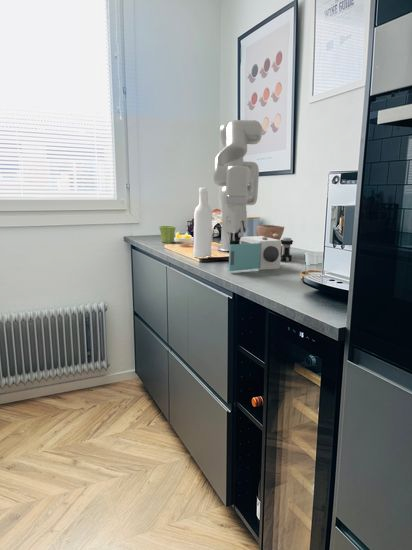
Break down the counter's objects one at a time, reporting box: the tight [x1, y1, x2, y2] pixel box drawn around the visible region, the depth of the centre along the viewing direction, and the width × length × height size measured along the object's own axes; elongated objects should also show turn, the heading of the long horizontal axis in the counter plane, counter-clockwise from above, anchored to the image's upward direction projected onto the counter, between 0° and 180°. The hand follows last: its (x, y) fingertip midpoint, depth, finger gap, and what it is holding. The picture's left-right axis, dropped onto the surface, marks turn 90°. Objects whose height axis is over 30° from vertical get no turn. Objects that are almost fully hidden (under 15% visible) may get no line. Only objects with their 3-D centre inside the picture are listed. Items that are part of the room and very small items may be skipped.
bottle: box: [192, 187, 213, 257], centre depth 179 cm, size 8×8×30 cm
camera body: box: [240, 235, 282, 271], centre depth 163 cm, size 16×10×12 cm, turn 26°
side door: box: [228, 243, 261, 272], centre depth 152 cm, size 14×1×10 cm, turn 118°
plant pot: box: [158, 225, 177, 244], centre depth 225 cm, size 9×9×9 cm
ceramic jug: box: [256, 224, 285, 255], centre depth 185 cm, size 18×14×14 cm
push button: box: [280, 237, 294, 263], centre depth 175 cm, size 7×5×10 cm
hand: (234, 251), depth 152 cm, fingers closed
